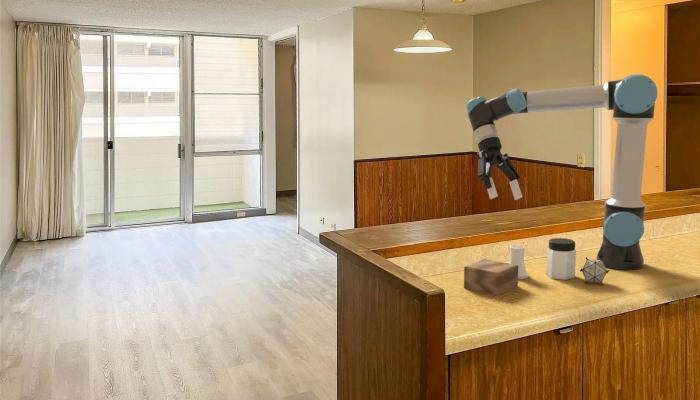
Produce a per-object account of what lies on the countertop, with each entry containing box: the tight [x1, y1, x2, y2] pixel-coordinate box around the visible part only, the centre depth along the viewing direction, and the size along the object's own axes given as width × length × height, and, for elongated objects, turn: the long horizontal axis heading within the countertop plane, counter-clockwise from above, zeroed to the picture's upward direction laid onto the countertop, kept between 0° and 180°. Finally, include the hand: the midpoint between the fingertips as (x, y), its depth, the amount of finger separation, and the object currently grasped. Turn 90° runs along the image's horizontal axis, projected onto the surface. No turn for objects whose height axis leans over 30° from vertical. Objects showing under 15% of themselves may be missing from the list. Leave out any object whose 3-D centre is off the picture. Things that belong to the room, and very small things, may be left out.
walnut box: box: [463, 258, 519, 297], centre depth 185 cm, size 12×12×7 cm
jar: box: [545, 237, 577, 281], centre depth 195 cm, size 9×8×12 cm
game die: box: [579, 256, 610, 286], centre depth 188 cm, size 9×8×10 cm
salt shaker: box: [508, 244, 529, 280], centre depth 196 cm, size 8×8×10 cm
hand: (506, 198), depth 197 cm, fingers open, 13 cm apart
